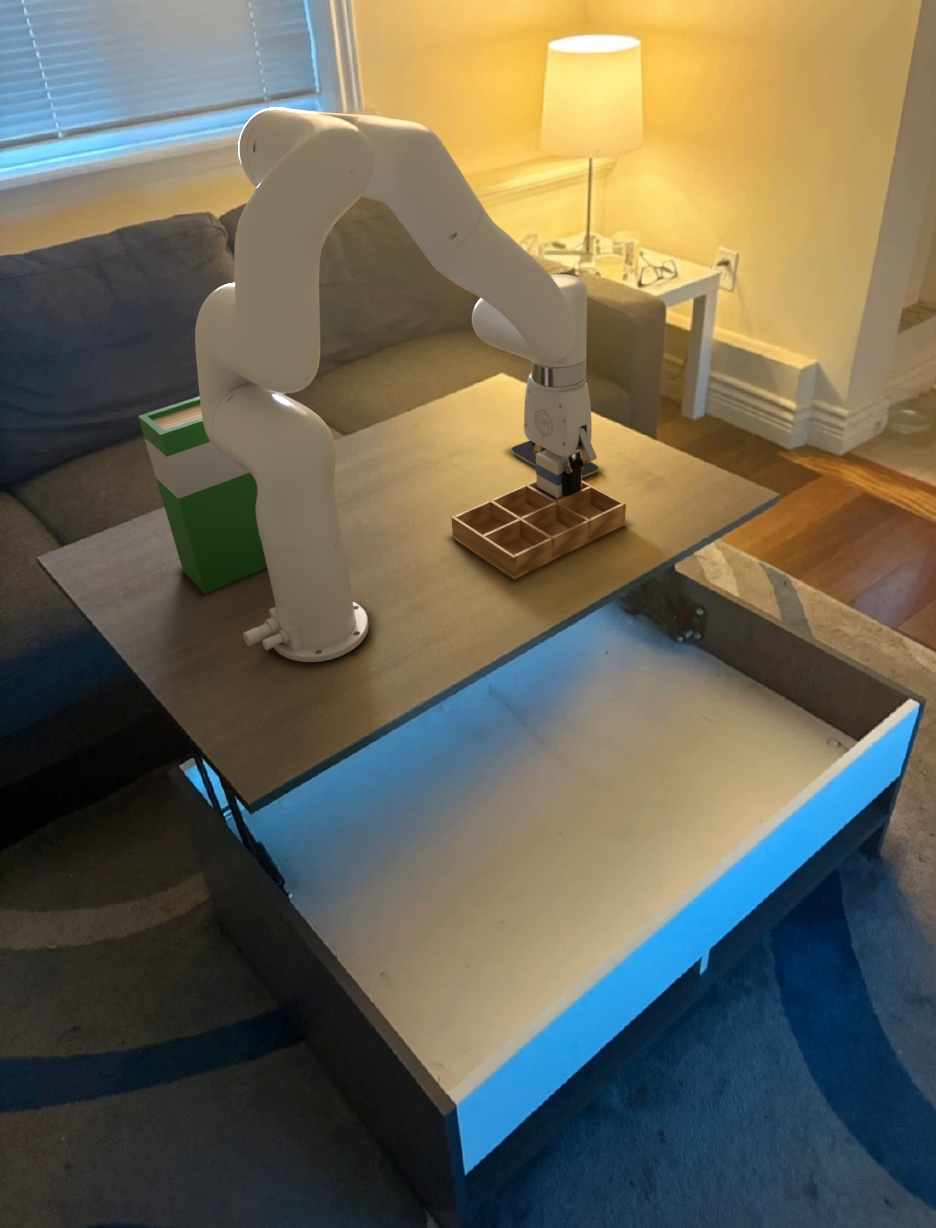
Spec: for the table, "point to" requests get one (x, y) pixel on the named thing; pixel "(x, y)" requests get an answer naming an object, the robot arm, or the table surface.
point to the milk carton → (551, 472)
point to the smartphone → (527, 454)
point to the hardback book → (203, 497)
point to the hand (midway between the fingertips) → (559, 484)
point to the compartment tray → (536, 526)
